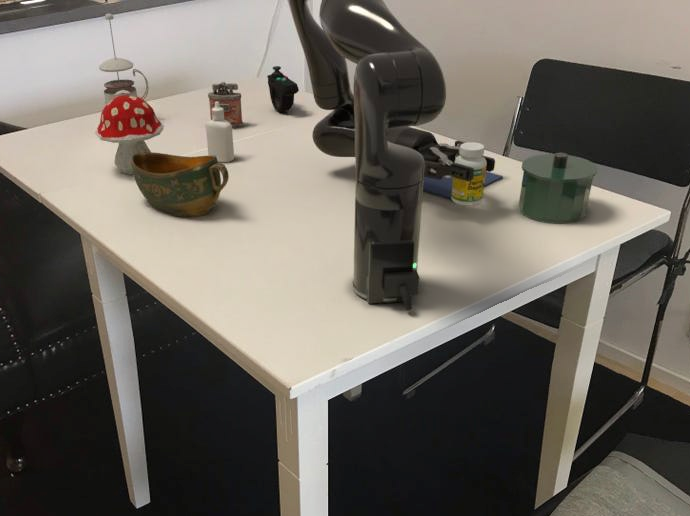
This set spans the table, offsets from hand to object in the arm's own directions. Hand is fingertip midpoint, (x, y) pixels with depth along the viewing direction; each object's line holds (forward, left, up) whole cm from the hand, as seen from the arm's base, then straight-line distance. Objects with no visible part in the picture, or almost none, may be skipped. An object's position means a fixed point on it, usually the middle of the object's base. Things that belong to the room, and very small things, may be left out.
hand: (482, 170), depth 129 cm
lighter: (+60, +44, -9) cm, 75 cm away
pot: (+1, -13, -8) cm, 16 cm away
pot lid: (+1, -13, -1) cm, 14 cm away
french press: (+66, +68, -9) cm, 95 cm away
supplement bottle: (+2, +2, -6) cm, 7 cm away
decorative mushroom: (+34, +63, -9) cm, 72 cm away
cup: (+12, +52, -9) cm, 54 cm away
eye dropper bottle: (+37, +45, -9) cm, 59 cm away
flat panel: (+17, 0, -8) cm, 19 cm away
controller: (+69, +30, -9) cm, 76 cm away
